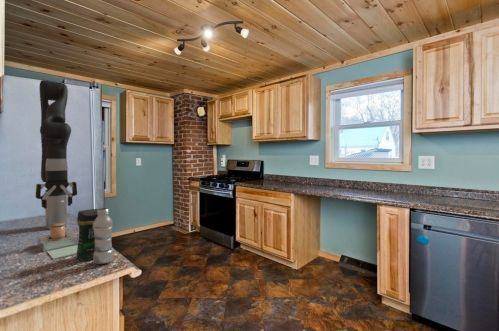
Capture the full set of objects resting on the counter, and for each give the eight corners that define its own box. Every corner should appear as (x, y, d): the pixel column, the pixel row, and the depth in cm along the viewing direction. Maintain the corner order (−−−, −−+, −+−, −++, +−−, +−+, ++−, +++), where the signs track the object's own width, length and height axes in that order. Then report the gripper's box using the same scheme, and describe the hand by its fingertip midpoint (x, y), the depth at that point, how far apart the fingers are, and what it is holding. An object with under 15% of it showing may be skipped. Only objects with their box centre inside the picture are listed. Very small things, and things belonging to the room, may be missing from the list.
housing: (37, 244, 113) (37, 236, 113) (70, 238, 122) (70, 231, 122) (43, 252, 105) (43, 243, 105) (78, 244, 114) (78, 237, 114)
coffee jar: (81, 263, 96) (80, 213, 95) (74, 257, 101) (74, 209, 100) (109, 256, 103) (109, 209, 102) (101, 250, 108) (101, 206, 108)
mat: (47, 252, 105) (47, 251, 105) (76, 246, 113) (76, 245, 113) (53, 259, 99) (53, 258, 99) (83, 252, 106) (83, 251, 106)
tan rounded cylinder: (49, 244, 114) (48, 224, 113) (63, 242, 118) (63, 222, 117) (52, 248, 110) (51, 226, 110) (66, 244, 114) (66, 224, 114)
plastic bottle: (105, 267, 93) (104, 211, 92) (88, 265, 94) (88, 210, 93) (117, 260, 99) (117, 207, 98) (102, 258, 101) (101, 206, 100)
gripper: (73, 168, 120) (74, 203, 121) (33, 169, 110) (34, 208, 110) (78, 169, 115) (79, 205, 116) (37, 170, 104) (38, 210, 105)
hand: (57, 206), depth 113 cm, fingers open, 8 cm apart
